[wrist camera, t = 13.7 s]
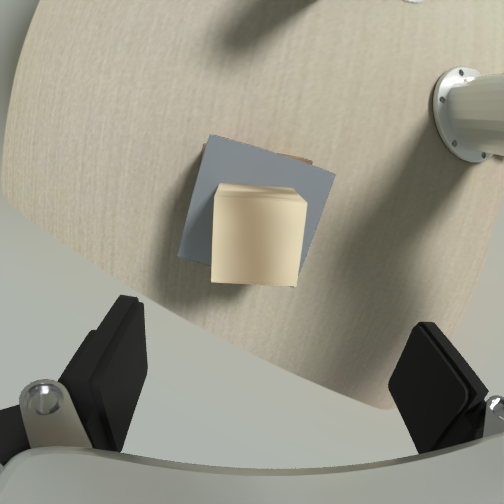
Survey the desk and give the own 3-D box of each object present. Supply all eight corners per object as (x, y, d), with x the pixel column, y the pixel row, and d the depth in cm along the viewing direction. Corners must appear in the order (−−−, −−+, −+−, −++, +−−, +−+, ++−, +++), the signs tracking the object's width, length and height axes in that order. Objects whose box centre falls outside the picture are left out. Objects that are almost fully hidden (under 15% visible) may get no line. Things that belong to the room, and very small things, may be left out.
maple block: (292, 188, 24) (307, 202, 19) (285, 255, 26) (296, 286, 21) (219, 183, 23) (214, 196, 18) (216, 251, 25) (211, 282, 20)
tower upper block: (320, 167, 28) (335, 174, 24) (285, 264, 31) (293, 287, 27) (214, 135, 27) (209, 134, 22) (186, 237, 30) (177, 256, 25)
